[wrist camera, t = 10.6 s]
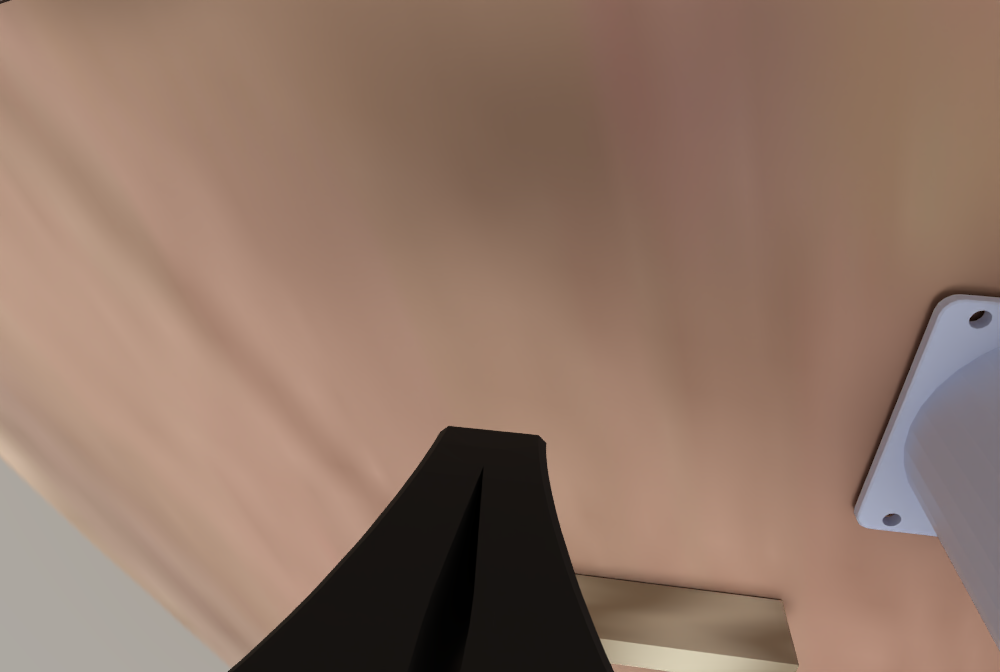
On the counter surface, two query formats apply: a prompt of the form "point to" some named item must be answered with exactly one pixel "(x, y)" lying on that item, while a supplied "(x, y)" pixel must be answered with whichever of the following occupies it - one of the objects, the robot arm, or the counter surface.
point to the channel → (688, 628)
